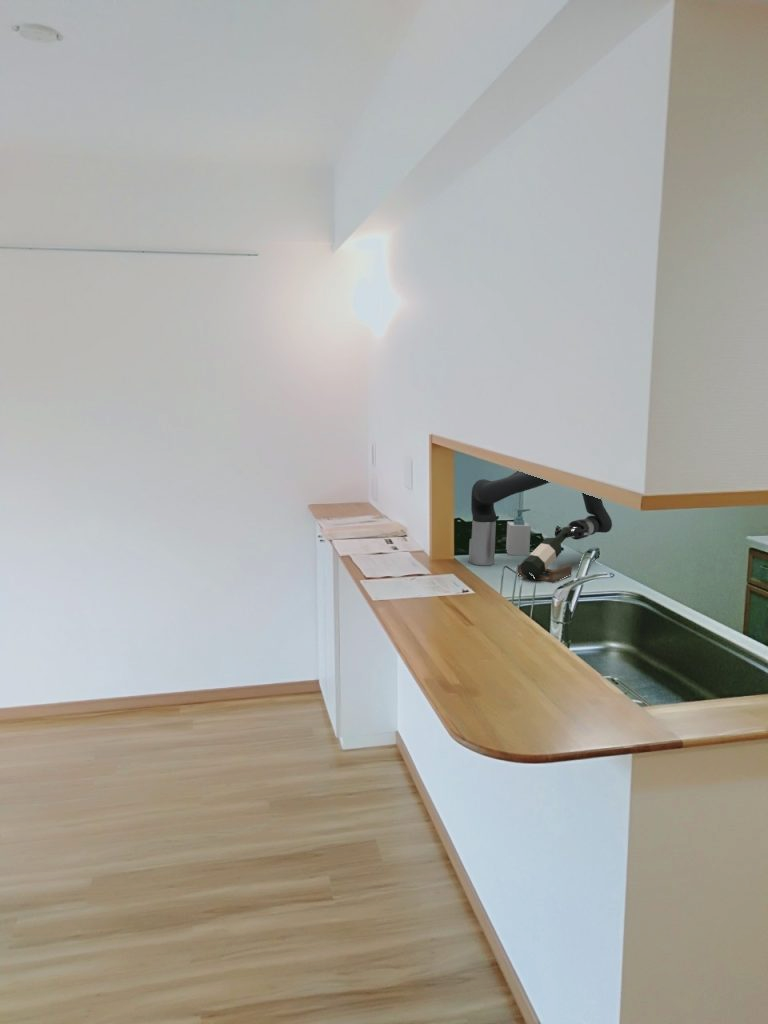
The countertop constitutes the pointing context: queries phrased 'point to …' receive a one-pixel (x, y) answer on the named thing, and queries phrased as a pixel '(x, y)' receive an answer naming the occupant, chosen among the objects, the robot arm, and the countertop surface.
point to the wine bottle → (543, 555)
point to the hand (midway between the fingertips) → (560, 534)
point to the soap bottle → (518, 535)
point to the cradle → (552, 573)
